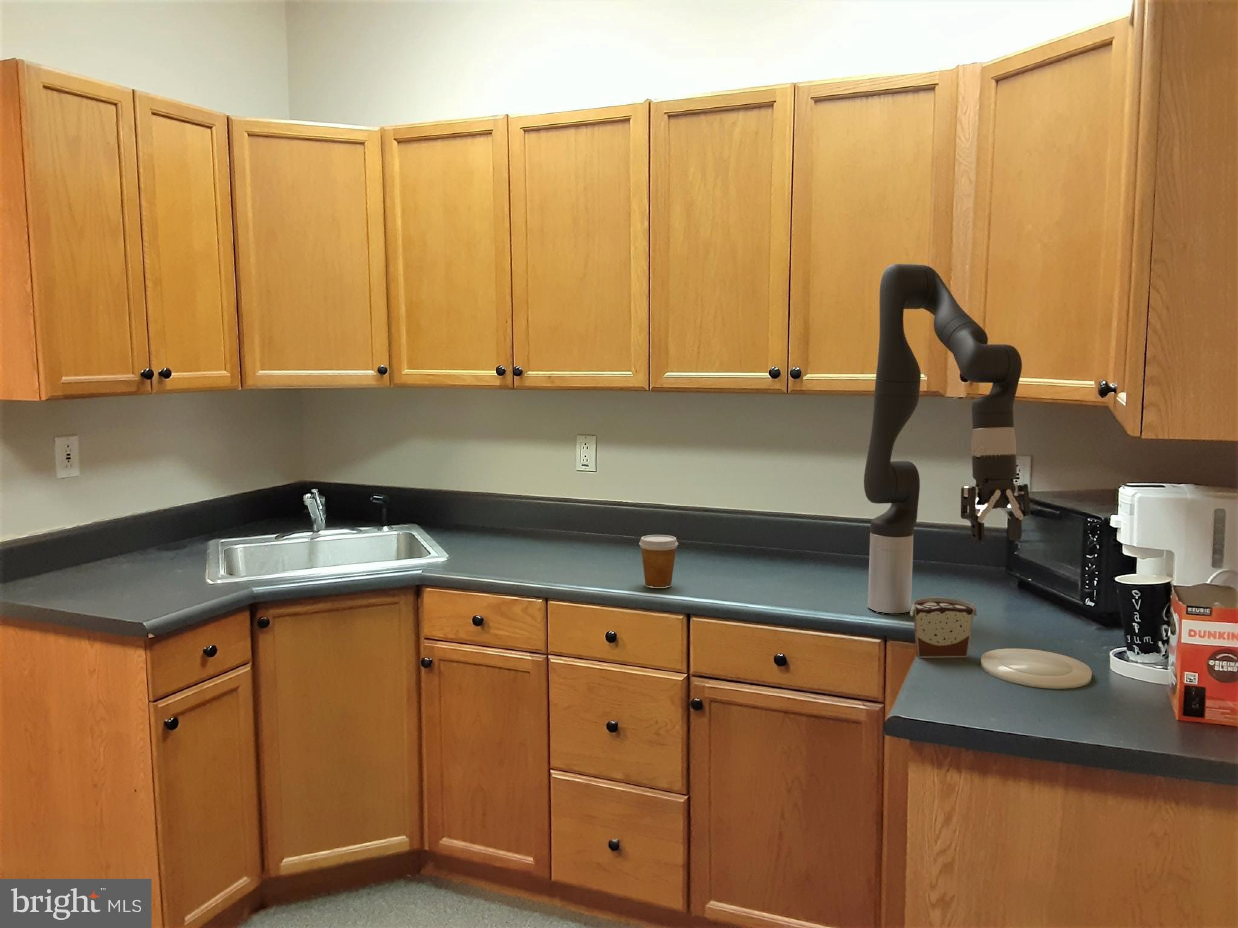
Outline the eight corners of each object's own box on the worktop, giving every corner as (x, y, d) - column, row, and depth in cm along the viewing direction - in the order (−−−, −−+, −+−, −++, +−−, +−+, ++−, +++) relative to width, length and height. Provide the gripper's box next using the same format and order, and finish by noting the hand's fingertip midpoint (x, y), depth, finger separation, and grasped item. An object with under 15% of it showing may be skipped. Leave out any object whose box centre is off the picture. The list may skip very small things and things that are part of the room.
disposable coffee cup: (683, 583, 226) (683, 536, 225) (669, 592, 218) (669, 543, 216) (648, 579, 230) (648, 533, 229) (632, 588, 222) (632, 539, 220)
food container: (961, 646, 177) (964, 596, 176) (975, 657, 171) (977, 605, 170) (899, 647, 176) (900, 596, 175) (910, 657, 170) (912, 605, 169)
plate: (973, 651, 174) (974, 644, 174) (1076, 658, 170) (1076, 651, 170) (989, 683, 157) (990, 676, 156) (1104, 692, 152) (1104, 685, 152)
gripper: (1007, 453, 173) (1010, 538, 173) (948, 454, 168) (951, 542, 168) (1039, 451, 166) (1042, 540, 166) (978, 453, 161) (981, 545, 161)
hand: (996, 541), depth 167 cm, fingers open, 8 cm apart
